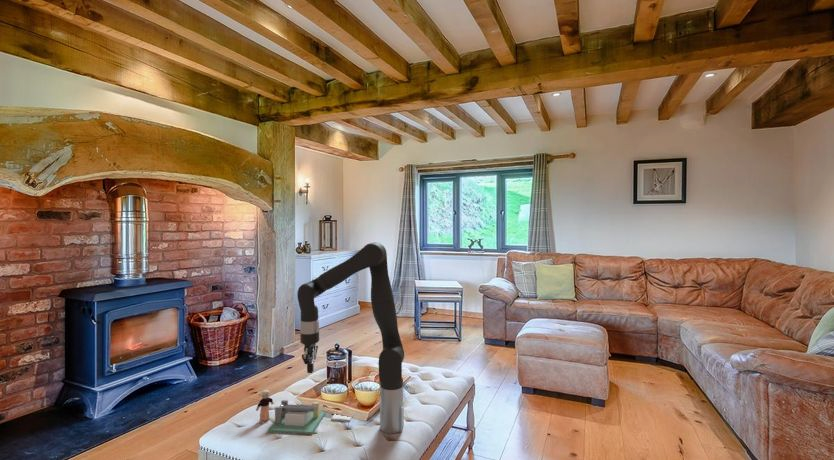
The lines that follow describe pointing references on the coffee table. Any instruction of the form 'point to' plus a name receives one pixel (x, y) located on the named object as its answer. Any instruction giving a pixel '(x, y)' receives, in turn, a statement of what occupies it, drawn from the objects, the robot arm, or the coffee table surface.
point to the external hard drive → (341, 418)
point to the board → (298, 428)
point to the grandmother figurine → (264, 406)
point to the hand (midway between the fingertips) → (310, 372)
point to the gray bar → (298, 407)
